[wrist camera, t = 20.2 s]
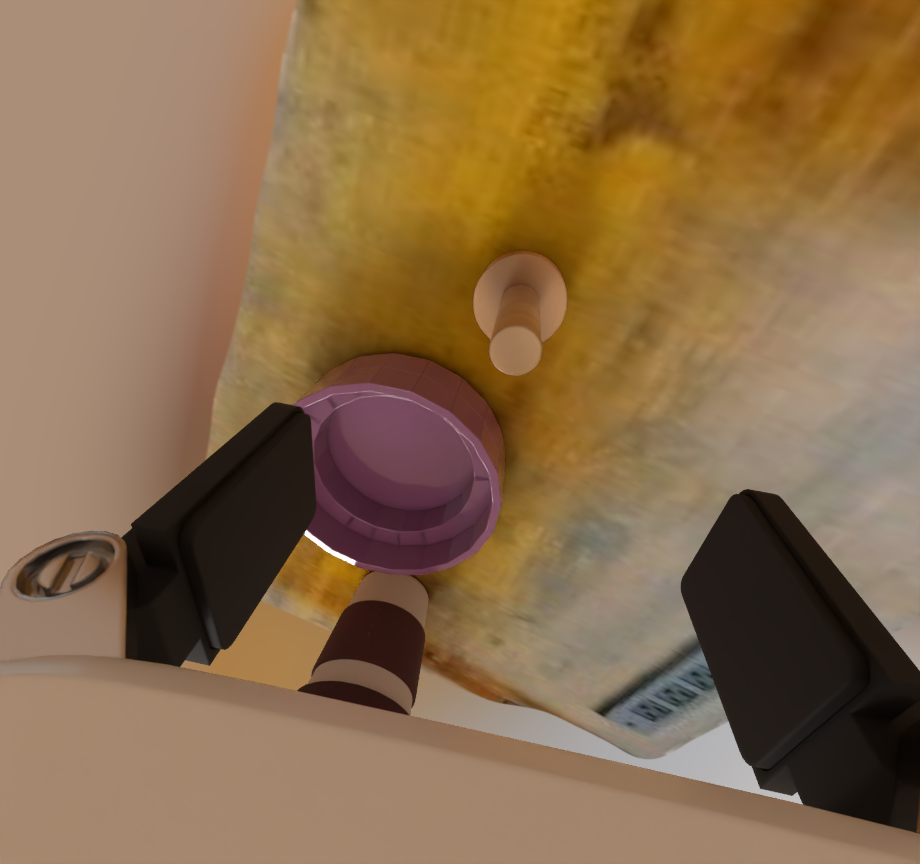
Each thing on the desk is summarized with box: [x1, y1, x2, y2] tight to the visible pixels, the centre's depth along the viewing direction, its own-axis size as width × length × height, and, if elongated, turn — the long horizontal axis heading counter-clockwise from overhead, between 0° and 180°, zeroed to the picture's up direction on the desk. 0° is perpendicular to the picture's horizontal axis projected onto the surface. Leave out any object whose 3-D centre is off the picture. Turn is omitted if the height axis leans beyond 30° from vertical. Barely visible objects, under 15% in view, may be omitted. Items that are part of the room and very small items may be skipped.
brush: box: [473, 250, 568, 376], centre depth 22 cm, size 5×5×11 cm
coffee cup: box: [298, 571, 429, 716], centre depth 37 cm, size 10×10×15 cm
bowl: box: [294, 353, 506, 575], centre depth 32 cm, size 16×16×6 cm
